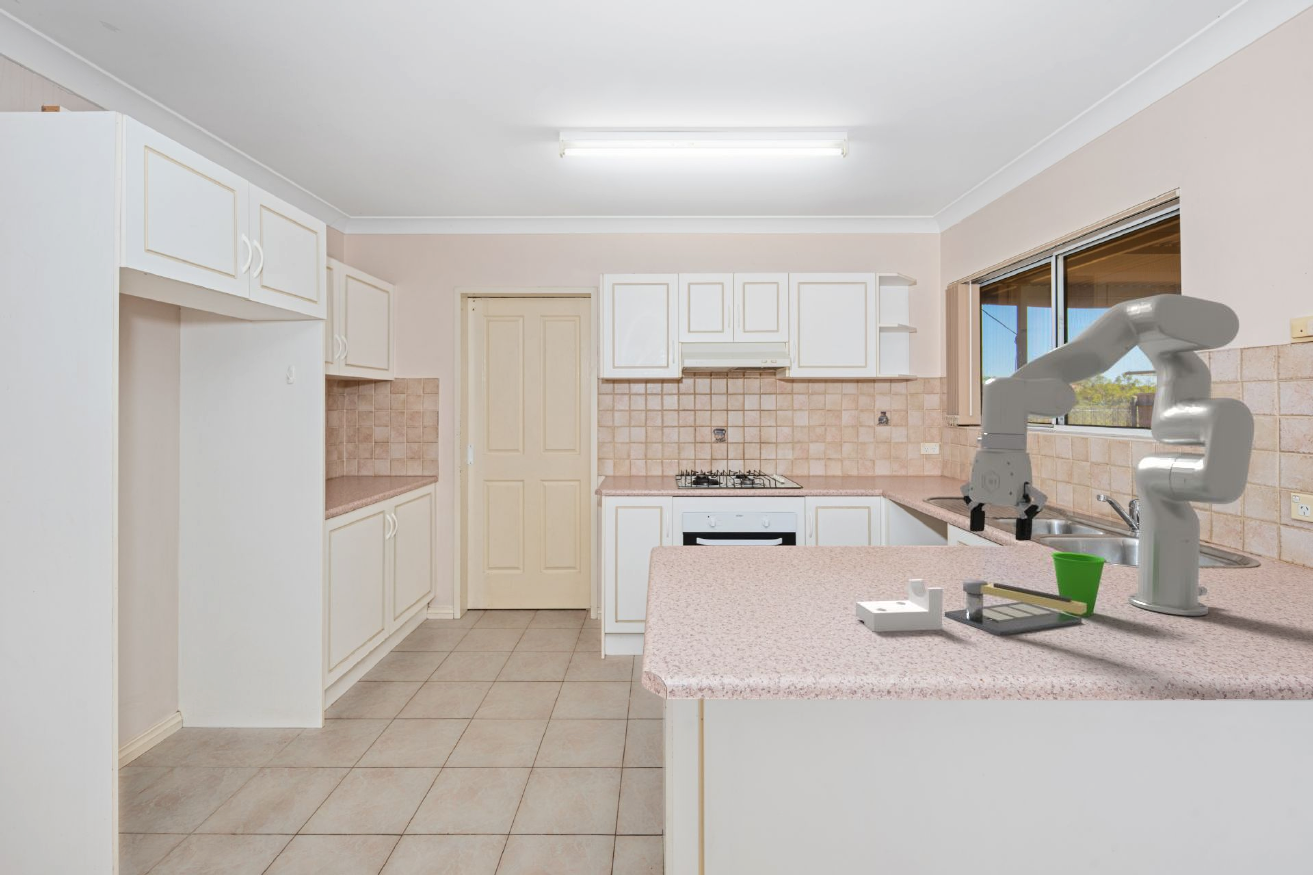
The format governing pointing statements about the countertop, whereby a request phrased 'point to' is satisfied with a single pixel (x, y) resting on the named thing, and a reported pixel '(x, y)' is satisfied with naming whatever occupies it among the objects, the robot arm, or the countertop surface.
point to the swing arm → (1024, 595)
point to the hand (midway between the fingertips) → (999, 535)
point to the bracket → (905, 610)
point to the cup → (1078, 577)
